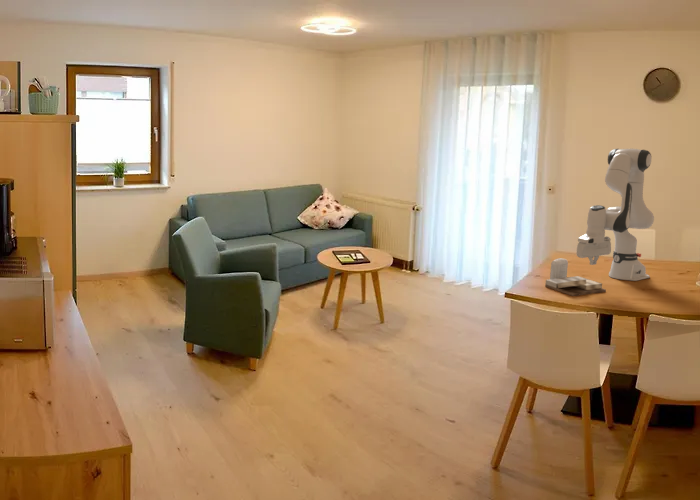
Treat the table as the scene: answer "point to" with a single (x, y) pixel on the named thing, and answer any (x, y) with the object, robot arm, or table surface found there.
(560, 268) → the grey arched block
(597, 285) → the plank
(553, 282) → the floor section
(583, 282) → the plank
